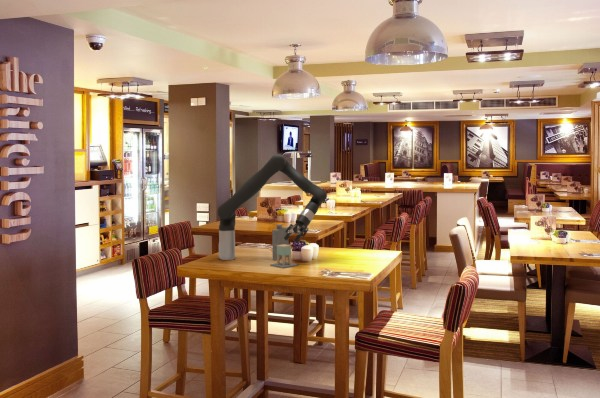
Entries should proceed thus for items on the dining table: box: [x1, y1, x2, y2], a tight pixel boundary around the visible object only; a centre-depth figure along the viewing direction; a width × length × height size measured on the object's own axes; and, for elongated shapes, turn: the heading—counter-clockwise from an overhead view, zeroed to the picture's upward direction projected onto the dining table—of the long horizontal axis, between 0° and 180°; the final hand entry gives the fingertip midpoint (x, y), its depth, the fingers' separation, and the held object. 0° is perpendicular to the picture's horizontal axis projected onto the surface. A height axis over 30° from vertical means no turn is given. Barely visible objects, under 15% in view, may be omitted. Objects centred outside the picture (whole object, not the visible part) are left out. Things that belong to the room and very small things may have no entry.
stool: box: [276, 244, 292, 266], centre depth 344 cm, size 6×6×11 cm
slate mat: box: [269, 261, 299, 269], centre depth 344 cm, size 11×11×1 cm
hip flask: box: [271, 224, 290, 261], centre depth 368 cm, size 16×4×20 cm, turn 152°
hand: (290, 240), depth 346 cm, fingers open, 8 cm apart
